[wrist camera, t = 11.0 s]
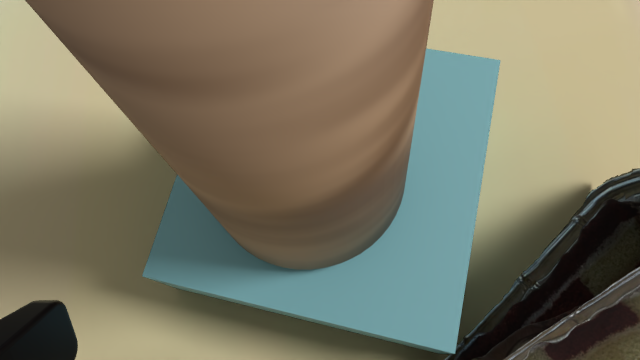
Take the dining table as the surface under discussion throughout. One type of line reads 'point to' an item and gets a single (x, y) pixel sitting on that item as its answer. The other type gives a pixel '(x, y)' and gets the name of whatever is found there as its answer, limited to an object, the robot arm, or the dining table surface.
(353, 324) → the base block
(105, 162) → the dining table surface
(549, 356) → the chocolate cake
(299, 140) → the brown vase
